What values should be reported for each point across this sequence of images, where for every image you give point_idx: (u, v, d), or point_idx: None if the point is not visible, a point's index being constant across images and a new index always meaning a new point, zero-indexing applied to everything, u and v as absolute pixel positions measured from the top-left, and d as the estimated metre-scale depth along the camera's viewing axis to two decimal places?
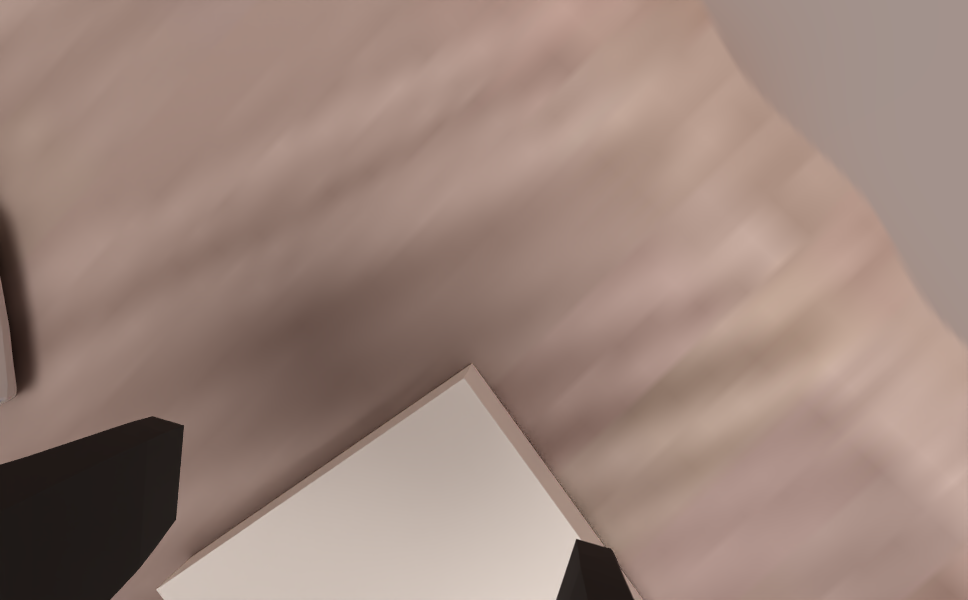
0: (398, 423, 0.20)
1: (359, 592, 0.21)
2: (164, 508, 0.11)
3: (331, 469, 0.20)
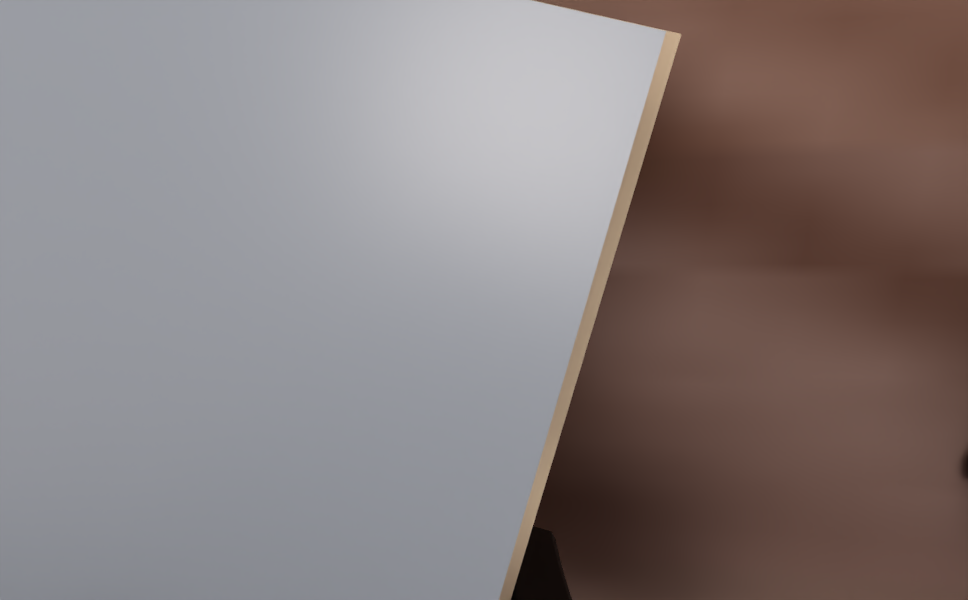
0: None
1: None
2: None
3: None
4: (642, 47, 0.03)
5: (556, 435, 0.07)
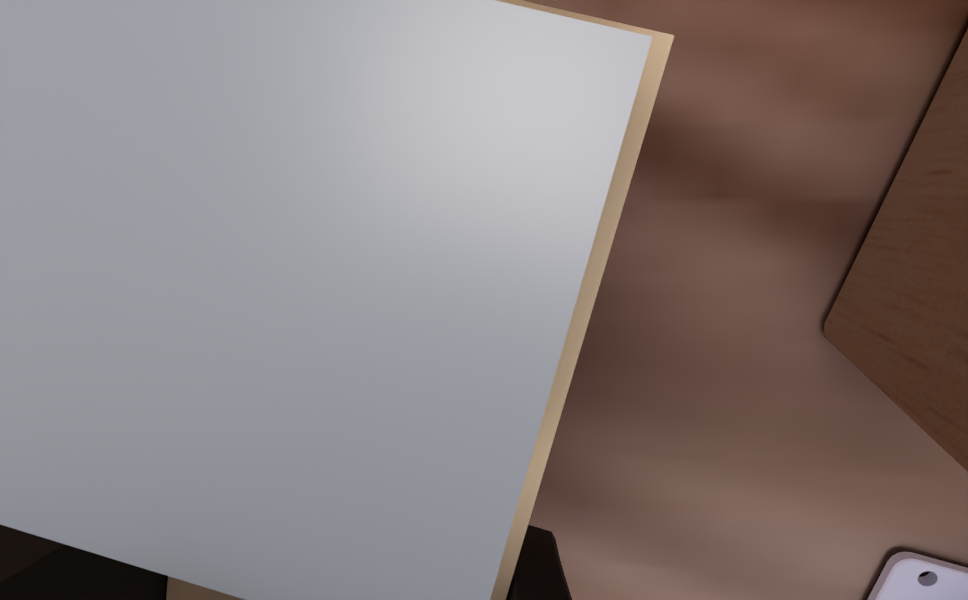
0: None
1: None
2: None
3: None
4: (633, 50, 0.03)
5: (558, 410, 0.08)
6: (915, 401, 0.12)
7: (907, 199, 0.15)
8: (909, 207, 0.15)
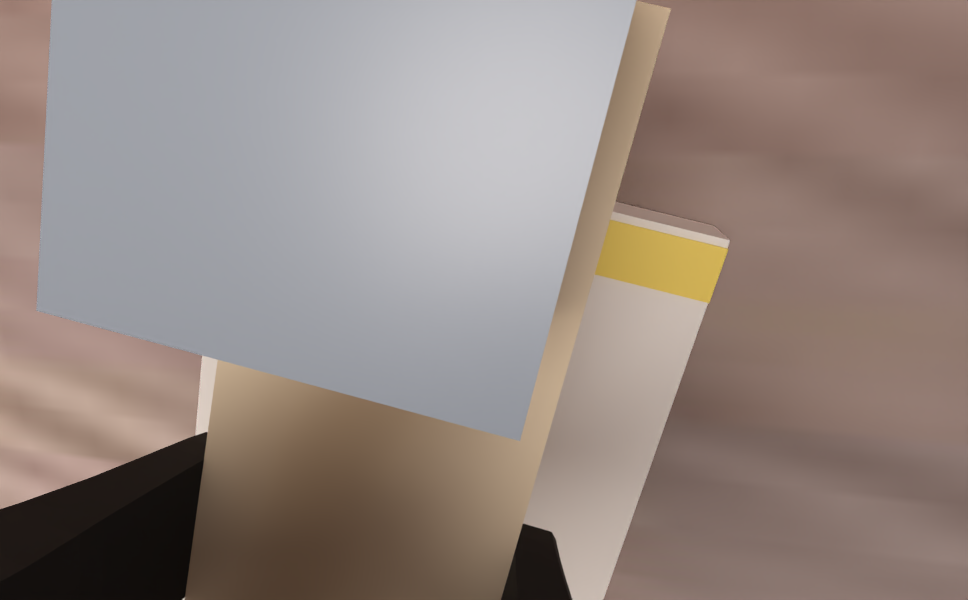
0: None
1: None
2: None
3: None
4: None
5: (569, 351, 0.09)
6: None
7: None
8: None
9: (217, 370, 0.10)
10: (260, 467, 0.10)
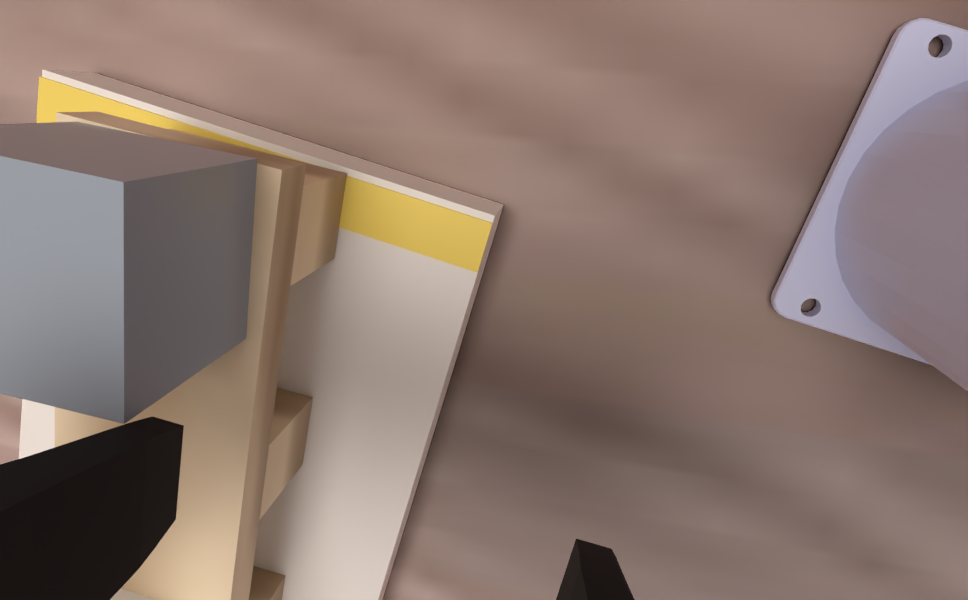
0: None
1: None
2: (164, 508, 0.11)
3: None
4: (118, 186, 0.09)
5: (257, 365, 0.14)
6: None
7: None
8: None
9: None
10: (88, 433, 0.16)
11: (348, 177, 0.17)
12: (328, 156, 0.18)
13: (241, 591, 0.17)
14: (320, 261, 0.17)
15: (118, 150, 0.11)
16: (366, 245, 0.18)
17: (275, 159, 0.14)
